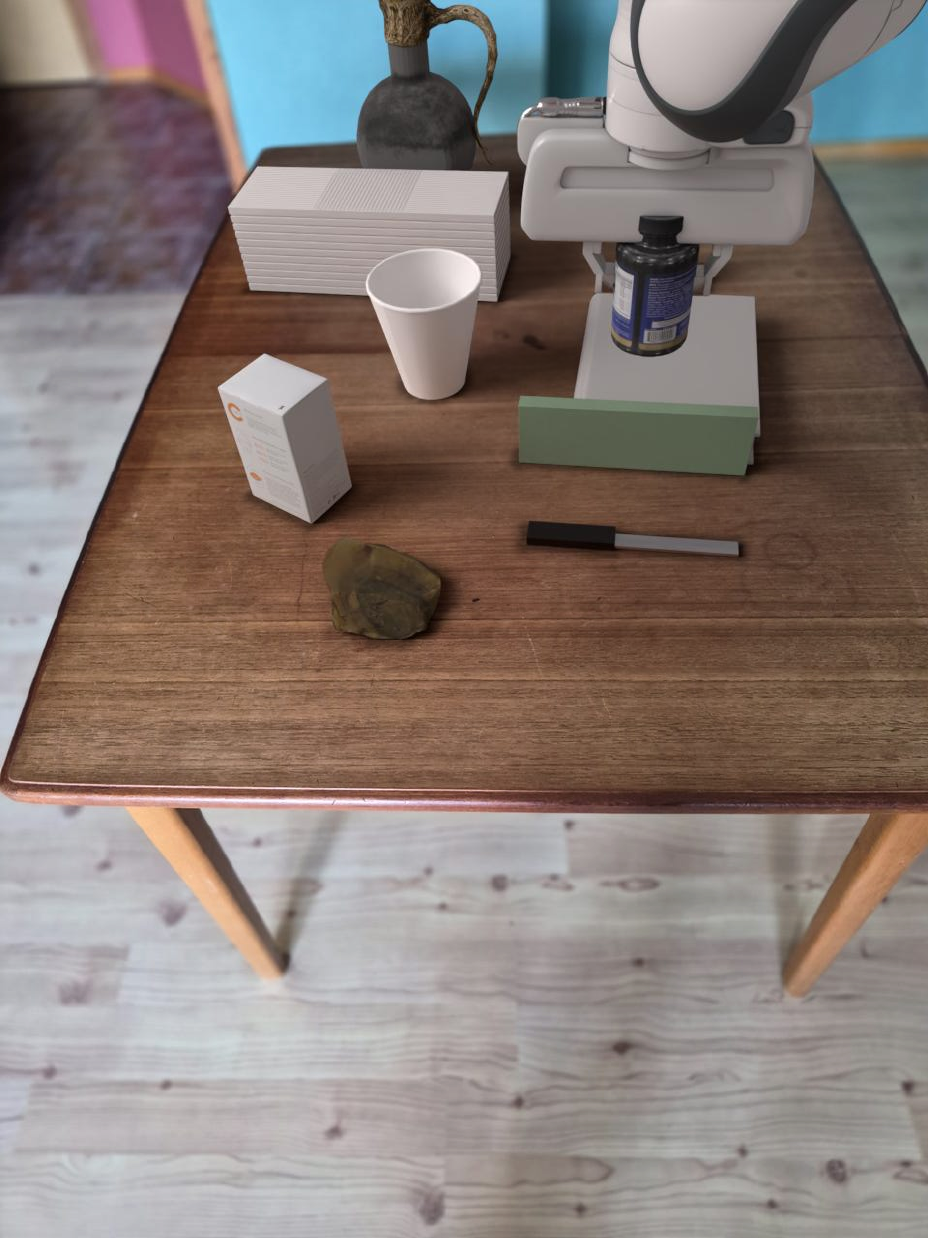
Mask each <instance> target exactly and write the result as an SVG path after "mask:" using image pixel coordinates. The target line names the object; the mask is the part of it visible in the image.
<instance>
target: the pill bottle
mask: <svg viewBox="0 0 928 1238" xmlns="http://www.w3.org/2000/svg"><path fill="white" fill-rule="evenodd" d="M639 218H640V219H639V227H638V231H639V233H640V234H641V235H643V238H642V241H641V242H638V243H632V242H616V247H615V260H614V263H615V283H614V294H613V306H612V322H611V338H612V340H613V342H614V344H615V345H616V346H617V347H618V348H619V349H621V350H622V351H624V352H626V353H629V354H633V355H637V356H641V357H657V356H664V355H668V354H670V353H673V352H675V351H676V350H678V349H679V348H680V347H681V346H682V345H683V344H684V342H685V341H686V338H687V334H688V326H689V319H690V312H691V306H692V298H693V296H692V292H693V285H694V278H695V275H696V269H697V263H698V262H699V261H698V260H699V256H700V255H699V254H700V244H680V243H678V242H677V238H676V236H677V235H678V234H679V233H680V232H682V229H683V220H684V217H683V216H640V217H639Z"/></svg>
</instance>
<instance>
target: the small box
mask: <svg viewBox="0 0 928 1238" xmlns="http://www.w3.org/2000/svg"><path fill="white" fill-rule="evenodd" d="M217 390H218V393H219V396H220V399H221V403H222V405H223V408H224V411H225V414H226V416H227V420H228V423H229V426H230V429H231V433H232V435H233V438H234V441H235V444H236V448H237V450H238V453H239V456H240V460H241V463H242V465H243V468H244V471H245V475H246V477H247V480H248V484H249V487H250V489H251V494H252V495H253V496H254V497H256V498H258V499H260V500H262V501H263V502H266V503H268V504H271V505H272V506H274V507H277V508H278V509H279V510H283V511H285V512H286V513H289V514H291V515H292V516H293V517H294V516H295V517H296V518H299V519H300V520H303V521H305V522H307V523H309V524H310V525H311V524H314V522H316V521H317V520H318V519H319V518H320V517H321V516H322V515H323V514H325V513H326V512H327V511H328V510H329V509H330V508H331V507H333V505H334V504H335V503H337V502H338V501H339V500H340V499H341V498H342V497H343V496H344V495H345V494H346V493H347V492H348V491H349V490H350V489H351V488H352V485H353V484H352V481H351V480H352V479H351V476H350V472H349V468H348V463H347V457H346V453H345V449H344V444H343V439H342V436H341V431H340V426H339V423H338V418H337V414H336V409H335V404H334V401H333V396H332V391H331V387H330V382H329V379H328V377H324V376H322V375H319V374H317V373H314V372H312V371H309V370H307V369H304V368H302V367H299V366H297V365H295V364H292V363H290V362H287V361H285V360H282V359H280V358H277V357H274V356H272V355H269V354H267V353H262V355H260V356H259V357H257V358H256V359H254V360H253V361H252V362H251V363H249V364H247V366H245V367H244V368H242V369H241V370H240V371H238V372H237V373H235V374H234V375H233V376H231V377H230V378H229V379H227V380H226V381H224V382H223V383H221V384H220V385H218V387H217Z"/></svg>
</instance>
